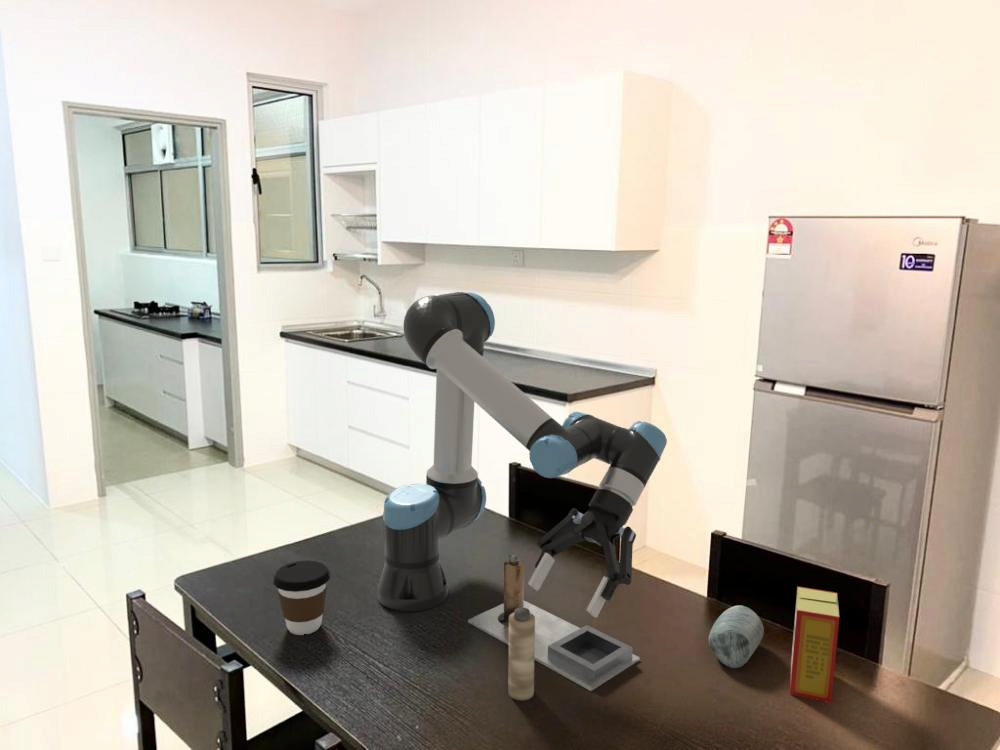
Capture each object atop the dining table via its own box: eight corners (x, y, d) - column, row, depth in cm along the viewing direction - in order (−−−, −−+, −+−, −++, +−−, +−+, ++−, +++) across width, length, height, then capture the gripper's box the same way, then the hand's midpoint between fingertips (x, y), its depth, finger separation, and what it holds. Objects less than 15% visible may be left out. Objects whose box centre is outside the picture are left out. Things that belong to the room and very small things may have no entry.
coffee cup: (265, 627, 152) (262, 571, 149) (312, 608, 159) (309, 554, 157) (295, 648, 144) (292, 589, 142) (343, 626, 152) (341, 570, 150)
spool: (756, 667, 133) (738, 609, 136) (706, 674, 138) (690, 618, 141) (781, 652, 144) (765, 598, 146) (735, 659, 149) (719, 607, 152)
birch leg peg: (502, 692, 131) (503, 610, 128) (520, 682, 134) (521, 602, 131) (521, 703, 128) (522, 620, 125) (539, 693, 131) (540, 611, 128)
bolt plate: (468, 622, 154) (467, 556, 151) (517, 599, 163) (517, 537, 161) (590, 691, 131) (593, 615, 129) (639, 660, 141) (642, 589, 138)
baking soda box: (831, 703, 128) (839, 615, 125) (789, 694, 131) (797, 608, 128) (829, 673, 137) (837, 590, 134) (790, 665, 139) (797, 584, 136)
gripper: (681, 526, 134) (627, 635, 127) (573, 491, 152) (520, 585, 145) (665, 505, 130) (608, 617, 122) (556, 472, 147) (500, 568, 140)
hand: (561, 600), depth 134 cm, fingers open, 13 cm apart
